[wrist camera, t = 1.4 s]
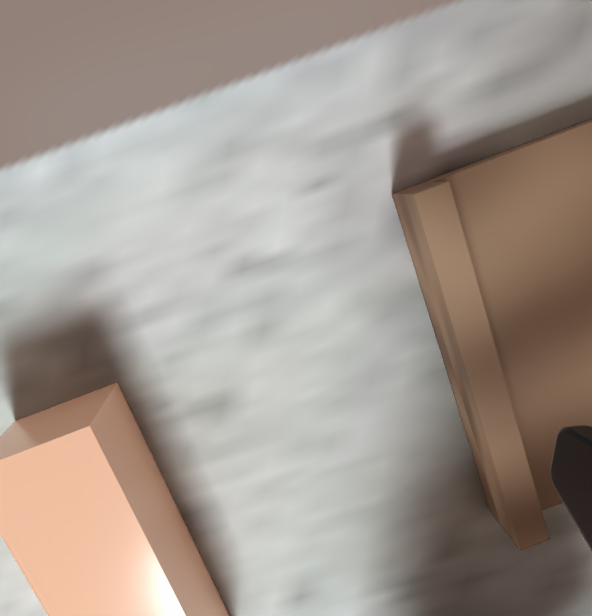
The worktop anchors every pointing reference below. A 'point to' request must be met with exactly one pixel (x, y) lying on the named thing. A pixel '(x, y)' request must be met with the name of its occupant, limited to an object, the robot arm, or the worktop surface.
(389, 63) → the worktop surface
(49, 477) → the peach long block
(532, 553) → the worktop surface
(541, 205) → the brown ridged slab
